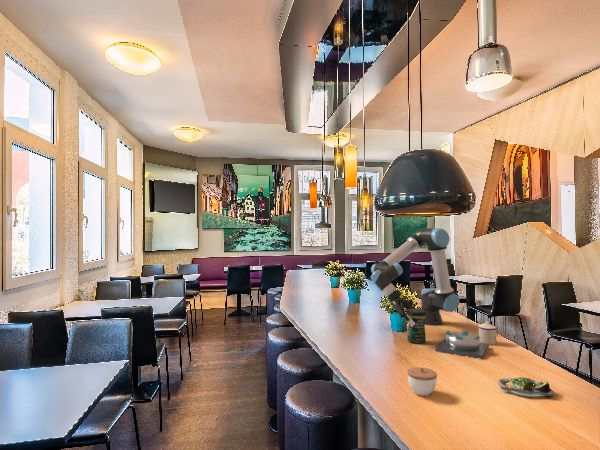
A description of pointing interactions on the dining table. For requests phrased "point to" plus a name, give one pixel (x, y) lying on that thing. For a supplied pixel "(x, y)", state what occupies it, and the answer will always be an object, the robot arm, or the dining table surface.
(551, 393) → the salad plate
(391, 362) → the dining table surface
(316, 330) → the dining table surface
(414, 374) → the lidded jar
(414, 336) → the coffee jar
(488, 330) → the teacup with lid
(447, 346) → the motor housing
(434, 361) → the dining table surface
